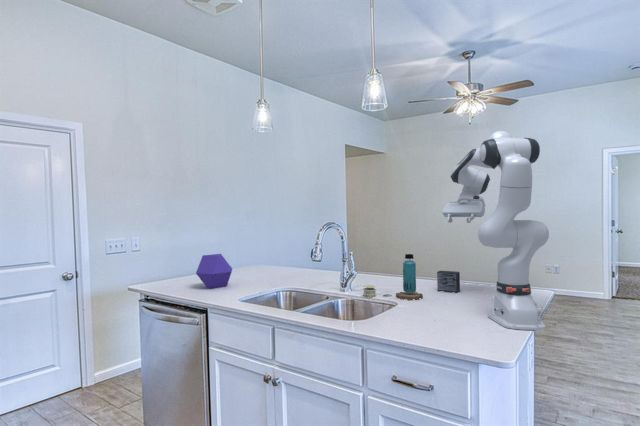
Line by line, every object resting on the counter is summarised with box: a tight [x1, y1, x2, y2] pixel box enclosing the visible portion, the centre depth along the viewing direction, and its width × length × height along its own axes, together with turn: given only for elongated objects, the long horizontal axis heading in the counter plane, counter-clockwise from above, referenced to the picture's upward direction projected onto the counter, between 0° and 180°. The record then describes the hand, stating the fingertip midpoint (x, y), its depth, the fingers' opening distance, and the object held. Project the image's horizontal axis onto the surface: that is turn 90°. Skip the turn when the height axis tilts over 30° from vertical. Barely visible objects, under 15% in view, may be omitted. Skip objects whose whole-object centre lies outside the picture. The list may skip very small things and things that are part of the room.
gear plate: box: [395, 291, 424, 301], centre depth 192 cm, size 13×13×2 cm
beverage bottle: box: [402, 253, 417, 292], centre depth 192 cm, size 6×7×20 cm
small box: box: [436, 270, 461, 294], centre depth 205 cm, size 11×6×10 cm, turn 58°
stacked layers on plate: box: [362, 284, 377, 299], centre depth 195 cm, size 10×9×6 cm
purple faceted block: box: [195, 253, 233, 290], centre depth 227 cm, size 22×20×20 cm
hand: (458, 221), depth 188 cm, fingers open, 8 cm apart
